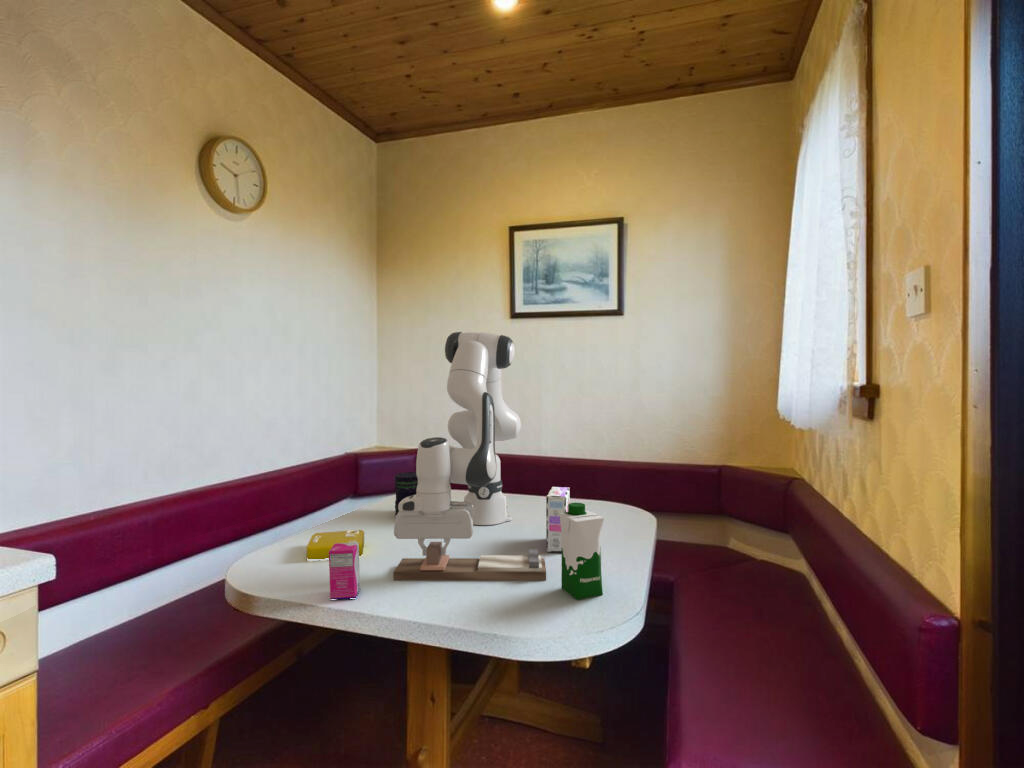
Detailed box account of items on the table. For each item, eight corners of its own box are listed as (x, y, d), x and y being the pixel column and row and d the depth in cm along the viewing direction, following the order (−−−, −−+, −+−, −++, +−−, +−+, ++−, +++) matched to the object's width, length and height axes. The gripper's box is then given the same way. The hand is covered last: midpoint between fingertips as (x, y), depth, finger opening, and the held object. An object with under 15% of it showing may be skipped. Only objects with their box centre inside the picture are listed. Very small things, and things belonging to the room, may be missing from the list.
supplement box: (335, 590, 123) (334, 542, 123) (360, 589, 124) (360, 541, 124) (328, 601, 118) (328, 550, 118) (355, 599, 118) (355, 549, 118)
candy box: (566, 553, 148) (566, 496, 148) (545, 552, 150) (545, 495, 149) (570, 539, 162) (570, 486, 162) (551, 538, 163) (551, 485, 163)
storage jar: (419, 518, 188) (418, 476, 188) (392, 518, 188) (391, 477, 188) (424, 511, 198) (424, 472, 198) (398, 511, 198) (398, 472, 198)
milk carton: (587, 582, 128) (587, 500, 127) (608, 596, 119) (608, 509, 119) (556, 588, 124) (555, 504, 124) (575, 602, 116) (574, 513, 116)
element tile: (313, 547, 157) (312, 531, 157) (364, 543, 161) (364, 527, 161) (305, 564, 143) (305, 546, 143) (362, 559, 146) (362, 542, 146)
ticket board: (402, 565, 140) (402, 548, 140) (544, 565, 139) (544, 548, 139) (393, 580, 130) (393, 561, 130) (546, 580, 129) (546, 561, 129)
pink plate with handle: (426, 557, 139) (426, 539, 139) (449, 557, 139) (449, 539, 139) (420, 570, 130) (420, 551, 130) (444, 570, 130) (444, 551, 130)
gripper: (475, 498, 137) (475, 550, 137) (397, 498, 138) (398, 551, 138) (473, 504, 131) (473, 559, 131) (392, 504, 131) (392, 559, 131)
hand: (434, 555), depth 134 cm, fingers closed on pink plate with handle, 3 cm apart
